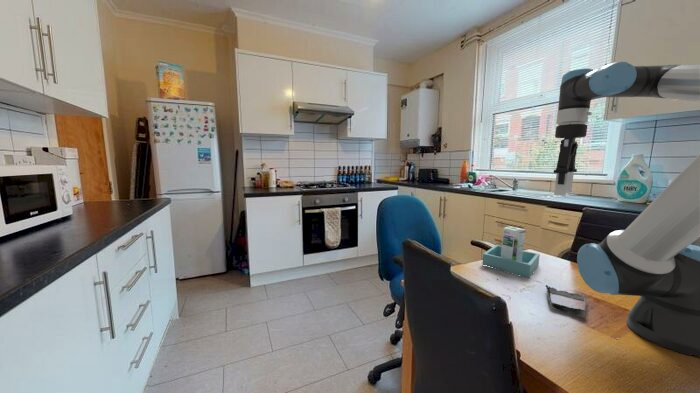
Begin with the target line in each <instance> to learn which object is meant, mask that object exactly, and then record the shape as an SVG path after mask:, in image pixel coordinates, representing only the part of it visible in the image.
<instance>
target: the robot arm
mask: <svg viewBox="0 0 700 393" xmlns="http://www.w3.org/2000/svg"><path fill="white" fill-rule="evenodd" d="M558 96H559V98H558V107H557V108H558V109H557V112H556V114H557V115H556V122H555V123H556V127H555V131H554V133H555V134H554V137H555V138H556V139H561V140H560V145H559V153H558V158H557V164H556V167H555V169H553V174H556V177H555V184H554V194H553V195H554V196H562V197H565V196H566V195H567V193H572V189H573V184H574V183H573V182H574V175H575V174H574V173H577V171H578V169H577V168H576V157H577V150H578V147H579V145H578V144H579V143H578V141H577V140H576V139H581V138H586V137H587V133H588V124H587V123H588V122H589V116H591V115H592V114H593V112H592V111H590V109H591V108H590V107H591V101H593V100H597V99H603V98H655V99H657V98H658V99H668V100H669V99H670V100H671V99H672V100H680V101H691V102H698V103H700V64H683V65H681V64H665V65H633V64H632V63H631V64H630V63H629V62H627V61H617V62H616V61H615V62H612V63H608V64H606V65H603V66H601V67H599V68H597V69H593V68H589V67H587V68H586V67H583V68H578V69H577V68H576V69H574V70H569V71H566V72H565V73H564V74H563V75H562V77H561V84H560V85H559V95H558ZM699 238H700V153H698V154H697V155H696V156H695V157H694V158H693V159H692V160H691V162H690V163H689V164H688V165H687V166H686V167H685V168H684V169H683V170H682V171H681V172H680V173H679V174H678V175H677V176H676V177H675V178H674V179H673V180H672V181H671V182H670V183H669V184H668V186H666V187H665V188H664V189H663V191H661V192H660V193H659V194H658V196H656V198H654V199H653V201H652V202H651V203H650V204H649V205H648V206H646V208H645V209H644V210H643V211H642V212H640V214H639V215H638V216H637V217H636V218H635V219H634V220H633V221H632V222H631V223H630V224H629V225H628V226H627V227H626V228H625V229H619V230H617V229H616V230H614V231H612V232H610V233H609V234H608V235H607V236H606V237H605V238H604V239H603V240H602V241H601V242H600V243H596V242H593V243H592V242H591V243H585V244H583V245H582V246H581V247H580V248H579V249H578V251H577V257H576V262H577V268H578V272H579V275H580V277H581V279H582V280H583V282H584V283H585V284H586V285H587V286H588V288H590V289H591V290H592V291H595V292H597V293H599V294H607V295H612V296H616V295H617V296H639V297H640V298H638V300H637V302H636V303H635V304H634V305H633V307H632V308H631V309H630V310H629V311H628V314H627V317H626V325H627V326H628V327H629V329H630V330H631V331H633V332H634V333H635V334H637V335H638V336H640V337H642V338H644V339H645V340H648V341H650V342H652V343H654V344H656V345H659V346H660V347H664V348H666V349H669V350H671V351H674V352H678V353H681V354H684V353H685V354H684V355H688V354H691V355H690V356H692V355H695V356H694V357H697V356H700V246H698V245H694V244H693V243H694V242H695V241H696V240H698V239H699Z"/></svg>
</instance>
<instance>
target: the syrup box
mask: <svg viewBox="0 0 700 393" xmlns="http://www.w3.org/2000/svg"><path fill="white" fill-rule="evenodd" d="M502 228H503V229H502V239H501V240H502V241H501V246H502V249H501V257H503V258H507V259H511V260H515V261H519V262H522V255H523V251H524V244H525V235H526V229H525V228H519V227H514V226H511V225H510V226H505V227H502Z"/></svg>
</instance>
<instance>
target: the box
mask: <svg viewBox="0 0 700 393" xmlns="http://www.w3.org/2000/svg"><path fill="white" fill-rule="evenodd" d="M501 249H502V245H499V244H495V245H494V246H493V247H491V248H490V249H488V250H487V251H485V252H483V255H482V262H481V263H482V264H483V265H487V266H490V267H493V268H496V269H499V270H498V271H500V270H502V271H501V272H504V271H506V272H505V273H507V272H509V273H508V274H511V273H513V274H512V275H515V274H516V275H515V276H519V275H520V277H522V276H524V277H523V278H526V277H527V278H526V279H530V278H531V277H532V276H533V274H534V273H535V271H536V270H537V269H538V267H539V264H540V263H539V262H540V256H541V255H540V253H537V252H536V253H535V252H532V251H528V250H527V251H526V250H523V255H522V262H519V261H515V260H511V259H507V258H503V257H501ZM493 268H492V269H493ZM496 269H495V270H496ZM533 272H534V273H533ZM530 276H531V277H530Z"/></svg>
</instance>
